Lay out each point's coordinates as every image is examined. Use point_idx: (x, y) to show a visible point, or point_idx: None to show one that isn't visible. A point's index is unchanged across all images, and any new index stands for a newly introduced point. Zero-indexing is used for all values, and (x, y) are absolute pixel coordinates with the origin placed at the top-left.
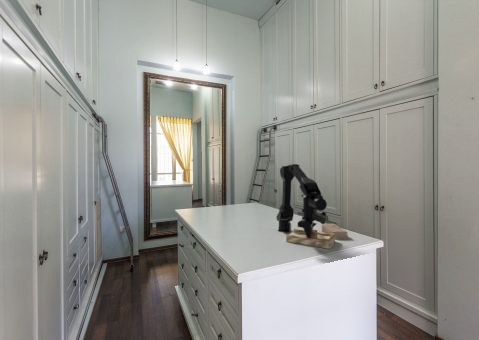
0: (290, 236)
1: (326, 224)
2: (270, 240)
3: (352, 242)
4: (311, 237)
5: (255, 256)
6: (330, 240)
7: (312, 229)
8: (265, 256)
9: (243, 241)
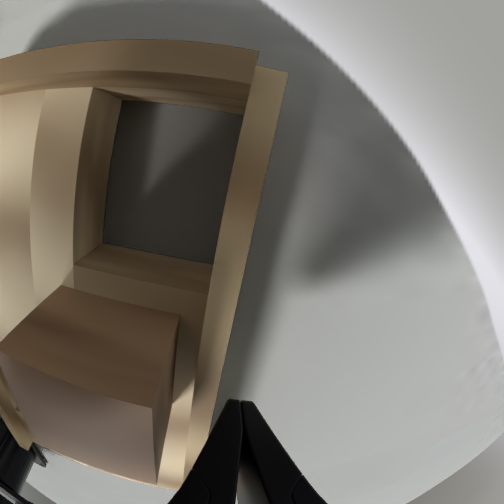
0: None
1: None
2: None
3: None
4: (171, 379)
5: (433, 465)
6: (255, 62)
7: (179, 494)
8: (440, 450)
9: None
